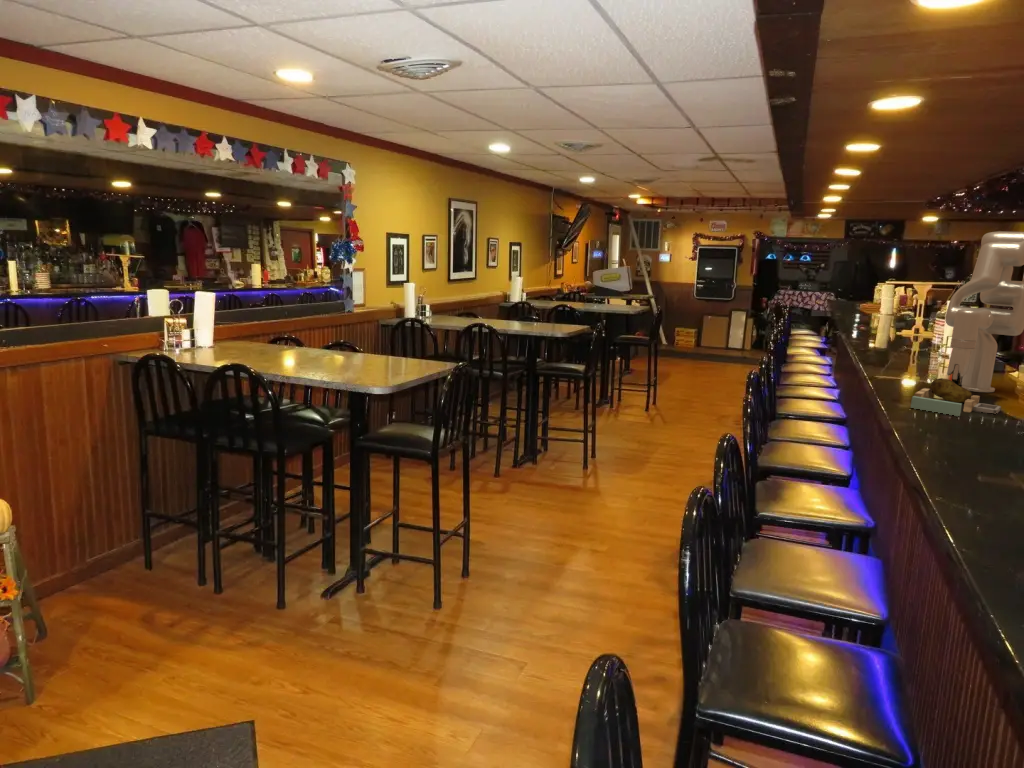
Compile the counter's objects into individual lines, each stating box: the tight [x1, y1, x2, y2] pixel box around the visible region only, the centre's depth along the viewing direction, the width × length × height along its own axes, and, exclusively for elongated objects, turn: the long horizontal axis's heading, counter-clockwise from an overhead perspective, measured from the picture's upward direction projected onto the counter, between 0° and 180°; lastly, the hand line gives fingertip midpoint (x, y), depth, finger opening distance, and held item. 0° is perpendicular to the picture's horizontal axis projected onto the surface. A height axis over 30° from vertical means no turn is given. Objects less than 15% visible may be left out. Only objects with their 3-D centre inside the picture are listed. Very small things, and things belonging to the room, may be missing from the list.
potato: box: [930, 377, 973, 404], centre depth 245 cm, size 8×13×8 cm, turn 59°
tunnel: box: [913, 387, 981, 413], centre depth 240 cm, size 14×17×4 cm
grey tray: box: [972, 402, 1002, 415], centre depth 233 cm, size 9×6×2 cm
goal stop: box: [910, 395, 963, 417], centre depth 228 cm, size 2×14×4 cm, turn 48°
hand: (954, 394), depth 250 cm, fingers closed
